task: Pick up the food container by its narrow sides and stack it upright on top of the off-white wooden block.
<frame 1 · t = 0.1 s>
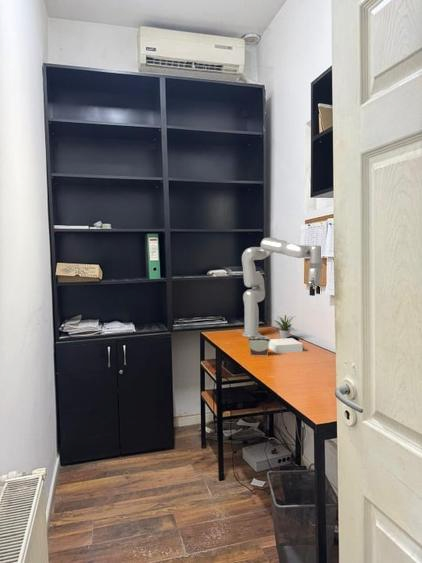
hand: (315, 294, 229), 31 cm above the table, tool pointing down, fingers open, 9 cm apart
base block: (284, 349, 224), on the table
food container: (258, 354, 215), on the table
house plant: (285, 339, 250), on the table
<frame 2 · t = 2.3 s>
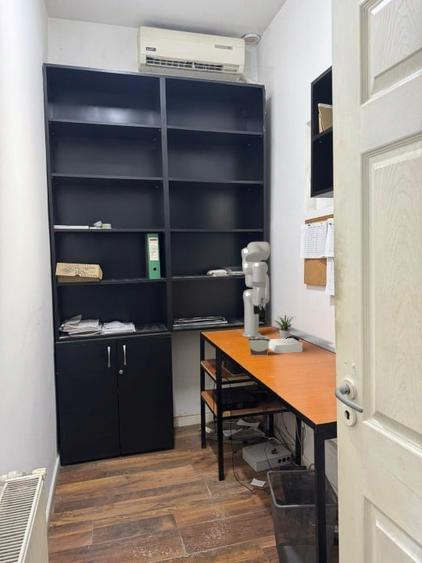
hand: (259, 315, 213), 22 cm above the table, tool pointing down, fingers open, 9 cm apart
nothing on the table moved.
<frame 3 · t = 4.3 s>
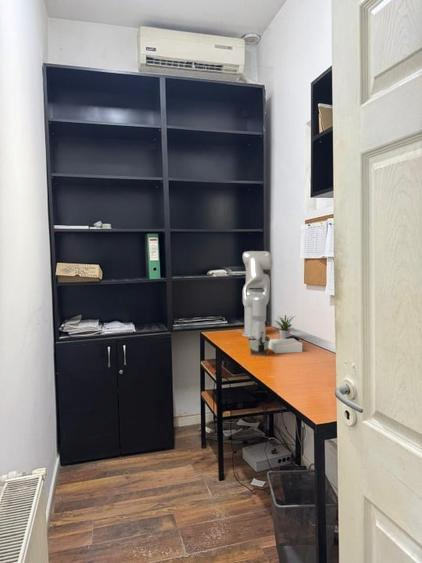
hand: (259, 349, 214), 2 cm above the table, tool pointing down, fingers open, 6 cm apart
food container: (258, 354, 215), on the table, touching gripper
everything else where it was.
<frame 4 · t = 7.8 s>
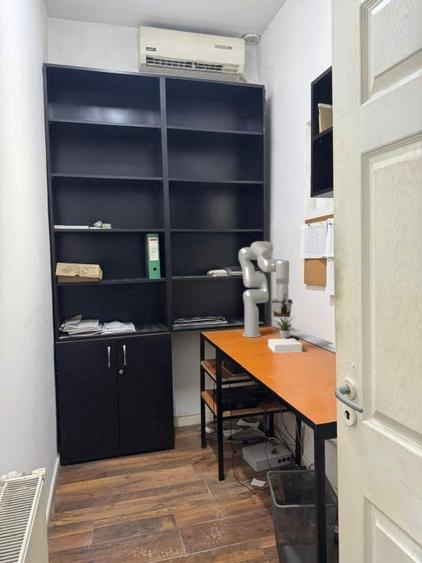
hand: (281, 312, 221), 22 cm above the table, tool pointing down, fingers closed on food container, 5 cm apart
food container: (281, 316, 223), point 20 cm above the table, touching gripper
everything else where it was.
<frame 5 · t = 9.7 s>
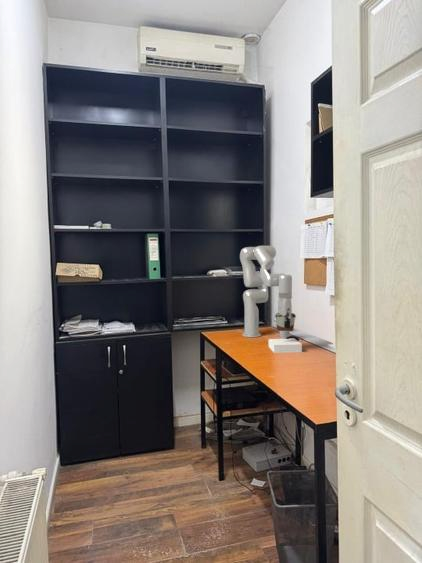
hand: (284, 326, 223), 14 cm above the table, tool pointing down, fingers closed on food container, 5 cm apart
food container: (284, 330, 224), point 11 cm above the table, touching gripper
everything else where it was.
when the fingers open (8 cm above the table, at t = 11.2 s): food container drops 1 cm, resting on base block.
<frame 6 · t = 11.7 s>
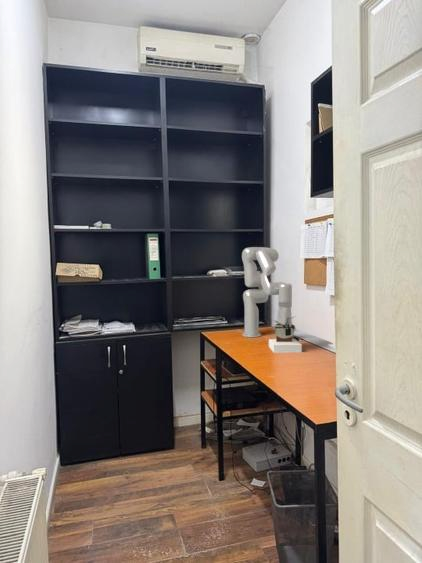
hand: (284, 333, 224), 9 cm above the table, tool pointing down, fingers open, 9 cm apart
base block: (284, 350, 224), on the table, touching food container
food container: (283, 340, 226), point 5 cm above the table, touching base block
everything else where it was.
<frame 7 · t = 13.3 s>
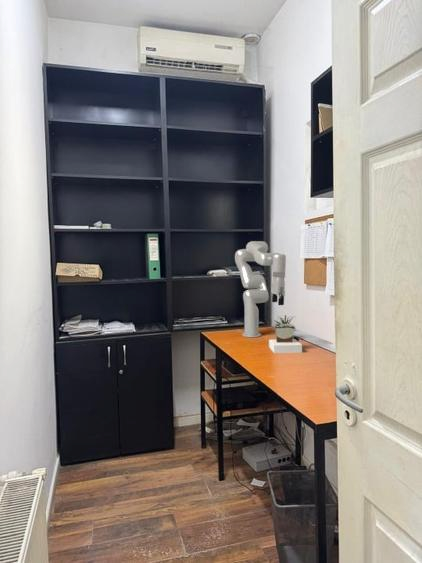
hand: (277, 303, 227), 26 cm above the table, tool pointing down, fingers open, 9 cm apart
food container: (283, 341, 225), point 4 cm above the table, touching base block
everything else where it was.
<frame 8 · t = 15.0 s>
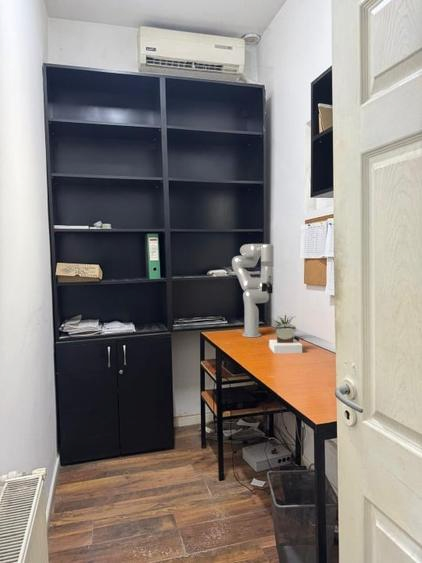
hand: (266, 292, 234), 32 cm above the table, tool pointing down, fingers open, 9 cm apart
food container: (284, 342, 224), point 4 cm above the table, touching base block
at the end: food container inside the target area on the base block (1.3 cm from its centre), point 4.9 cm above the base block's base; food container tilted 1°; the gripper is holding nothing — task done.
